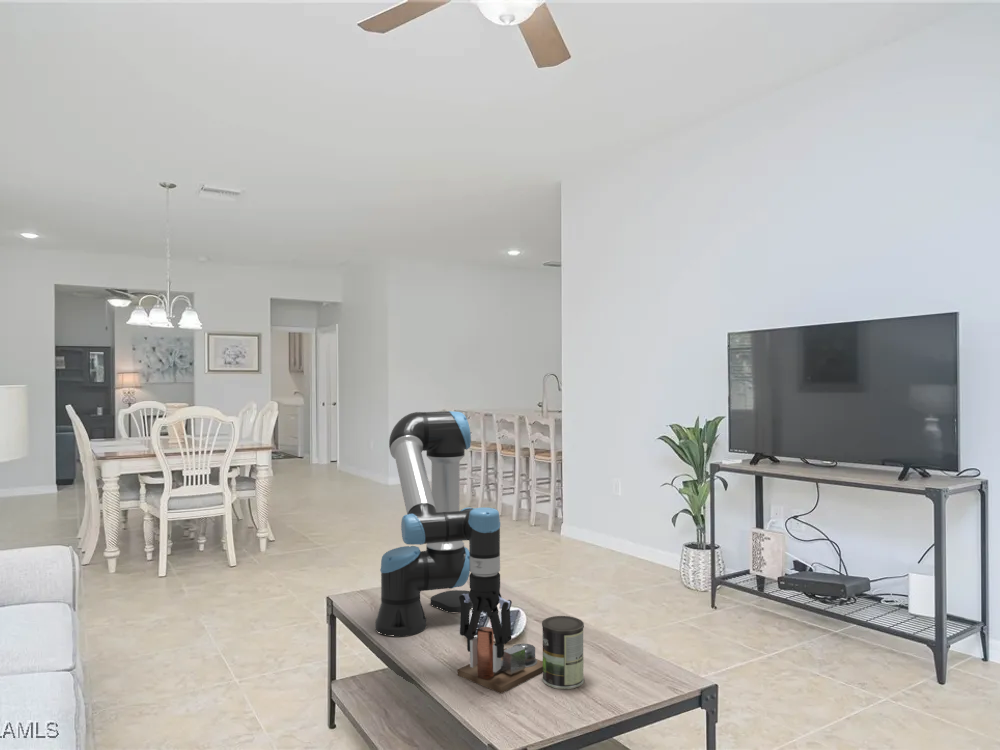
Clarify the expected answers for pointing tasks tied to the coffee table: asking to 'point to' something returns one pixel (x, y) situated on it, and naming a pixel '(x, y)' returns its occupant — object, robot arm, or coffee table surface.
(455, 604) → the media streaming box
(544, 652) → the coffee can
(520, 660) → the lever
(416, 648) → the coffee table surface
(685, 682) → the coffee table surface
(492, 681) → the board
